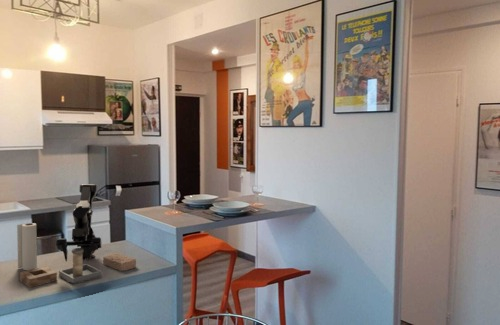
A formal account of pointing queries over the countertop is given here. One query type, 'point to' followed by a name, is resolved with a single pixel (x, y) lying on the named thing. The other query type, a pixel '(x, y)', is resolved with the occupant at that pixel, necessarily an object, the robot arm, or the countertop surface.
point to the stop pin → (77, 262)
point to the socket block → (38, 276)
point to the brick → (119, 261)
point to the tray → (88, 274)
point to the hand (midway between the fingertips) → (77, 260)
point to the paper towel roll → (27, 246)
